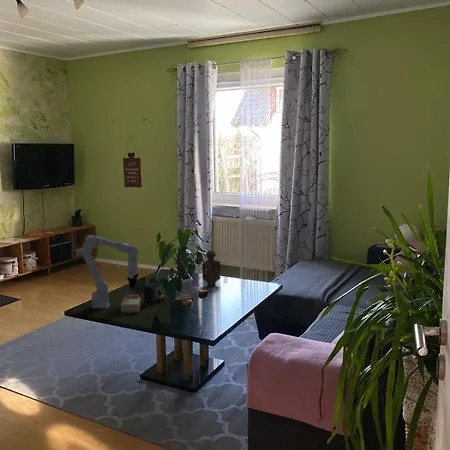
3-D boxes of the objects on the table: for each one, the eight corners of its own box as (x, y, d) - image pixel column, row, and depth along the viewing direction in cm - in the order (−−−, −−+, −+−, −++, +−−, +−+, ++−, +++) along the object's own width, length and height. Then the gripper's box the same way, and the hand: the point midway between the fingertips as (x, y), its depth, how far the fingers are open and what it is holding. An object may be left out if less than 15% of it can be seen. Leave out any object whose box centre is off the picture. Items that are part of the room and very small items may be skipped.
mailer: (121, 312, 281) (120, 306, 280) (124, 305, 293) (124, 298, 293) (138, 312, 281) (138, 306, 280) (141, 305, 294) (140, 298, 293)
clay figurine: (218, 283, 339) (218, 248, 335) (222, 287, 330) (222, 251, 325) (200, 284, 336) (200, 249, 331) (204, 288, 326) (204, 252, 322)
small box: (151, 304, 296) (151, 287, 294) (143, 302, 299) (143, 285, 297) (162, 299, 305) (162, 283, 303) (154, 297, 308) (154, 281, 306)
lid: (120, 305, 280) (120, 301, 280) (124, 298, 293) (124, 294, 292) (138, 305, 280) (138, 301, 280) (140, 298, 293) (140, 294, 293)
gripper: (137, 268, 287) (138, 290, 289) (140, 262, 301) (141, 282, 304) (125, 268, 287) (126, 290, 289) (129, 262, 301) (130, 283, 303)
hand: (133, 286), depth 296 cm, fingers open, 7 cm apart
